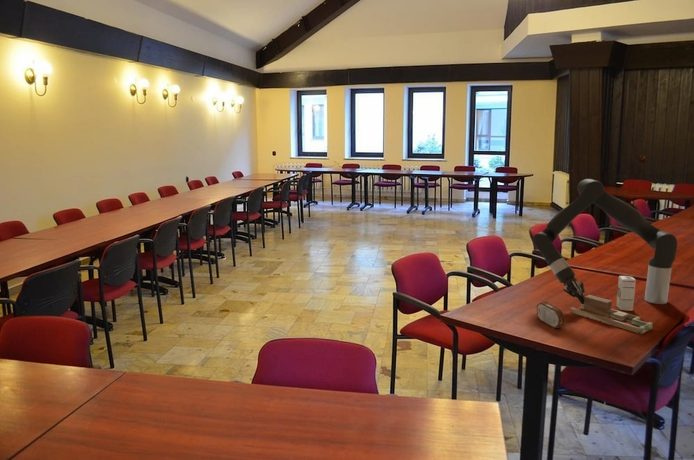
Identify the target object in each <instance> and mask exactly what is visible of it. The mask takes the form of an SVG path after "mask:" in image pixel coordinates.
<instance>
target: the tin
mask: <svg viewBox="0 0 694 460" xmlns="http://www.w3.org/2000/svg"><path fill="white" fill-rule="evenodd" d="M536 315H537V317H538V318H539V320H540V321H541V322H543V323H544V324H546V325H548V326H549V327H551V328H553V329H561V328H563V327H564V325H565V321H566V320H565V314H564V313H563V311H562V310H561V309H560V308H559V307H557V306H555V305H553V304H552V303H549V302H548V301H543V302H539V303H538V304H537V305H536Z"/></svg>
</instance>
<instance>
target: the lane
mask: <svg viewBox="0 0 694 460" xmlns="http://www.w3.org/2000/svg"><path fill="white" fill-rule="evenodd" d="M579 308H580V309H579ZM579 308H576V307H570V311H569V312H570V313H572V314H575V315H578V316H582V317H584V318H587V317H588V318H587V319H591V320H594V321H597V322H600V321H601V323H604V324H608V325H610V326H613V327H616V328H621V329H624V330H627V331H630V332H632V333H633V332H634V333H636V334H640V335H642V334H644V333H646V332H649V331H650V330H652V329H653V324H654V323H653V322H650V321H649V322H646V321H643V320H641V316H639V315H635V314H632V313H628V312H626V311H625V312H624V311H622V310H619V309H618V310H616V309H613V308H611V316H610V319H609V318H606V317H602V316H599V315H596V314H592V313H589V312H586V311H583V309H584V305H582V304H581V303H580V307H579ZM622 321H623V322H622ZM624 321H626V322H629V324H628V323H626V322H624ZM630 323H631V324H630Z"/></svg>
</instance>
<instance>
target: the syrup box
mask: <svg viewBox="0 0 694 460" xmlns="http://www.w3.org/2000/svg"><path fill="white" fill-rule="evenodd" d="M636 282H637V280H636V279H635V278H634V277H633V276H629V275H619V276H618V283H617V292H616V293H617V294H616V303H615V306H616V308H617V309H618V311H629V312H630V311H633V310H634V301H635V293H636Z"/></svg>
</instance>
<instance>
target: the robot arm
mask: <svg viewBox="0 0 694 460" xmlns="http://www.w3.org/2000/svg"><path fill="white" fill-rule="evenodd" d="M576 188H577V193H578V196H577V197H576V198H575V200H573V202H571V203H569V204H568V205H567V206H566V207H564V208H562V209H561V210H560V211H559V212H557V213H556V214H555V215H554V216H553V217H552V218H551V219H550V220H549V221H548V223H547V224H546V227H544V230H542V231H540V232H536V233H535V234H534V235H533V237H532V243H533V245H534V246H535V248H536V249H537V250H538V251H539V253H540V254H541V255H542V256H543V258H544V260H545V261H546V263H547V265H548V266H549V268H550V270H551V271H552V273H553V274H554V276H555V278H556V279H557V280H558V281H559V283H560V284H563V286H564V288H563V291H564V292H565V293H566V294H568V295H569V296H571V297H572V298H576V299H577V300H578V301H579V302H580V305H581V304H582V305H584V299H585V295H584V294H585V292H586V291H585V286H584V282H582V281H581V282H580V281H578V279H577V278H576V273H575V271H574V270H573V269H572V267H571V266H570V263H568V262H567V261H566V259H565V258H564V257H563V255H562V254H561V253H560V251H559V250H558V249H557V248H556V247H555V245H554V244H553V243H554V241H556V239H557V237H558V236H559V235H560V233H562V231H564V229H566V228H567V227H568V226H569V225H570V223H572V222H573V221H574V220H575V219H576V218H577V217H578V216H579V215H580V214H581V213H583V211H585V210H586V209H587V208H588V207H590V206H591V205H592V204H593V205H595V206H597V207H598V208H600V209H601V210H602V212H604V213H606V215H607V216H609V217H611V219H612V220H614V221H615V222H617V223H618V224H620V225H621V226H622V227H624V228H625V229H627V230H629V232H632V233H634V234H636V235H637V236H639V237H640V238H641V239H642V240H643V241H644V242H645V243H647V244H648V245H649V247H650V248H652V249H654V255H653V257H651V258H649V260H648V266H647V267H648V269H647V275H646V284H645V293H644V301H645V302H647V303H651V304H655V305H666V304H667V303H668V297H669V296H668V295H669V290H670V283H671V276H672V268H673V264H674V262H675V261H676V255H677V249H678V240H677V237H676V236H675V235H674V234H672V233H670V232H667V231H664V230H662V229H660V228H658V227H656V226H654V225H653V224H651V223H650V222H649V221H647V219H646V218H645V217H644V216H643V214H642V213H641V212H640V211H639V210H637V209H636V208H635V207H633V206H631V205H630V204H629V203H627V202H626V201H623V200H622V199H620V198H618V197H615V196H614V195H612V194H610V193H608V191H606V190H605V186H604V185H603V183H602V182H600V181H599V180H596V179H592V178H585V179H583V180H581V181H580V182H579V183H578V184H577V187H576Z"/></svg>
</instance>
